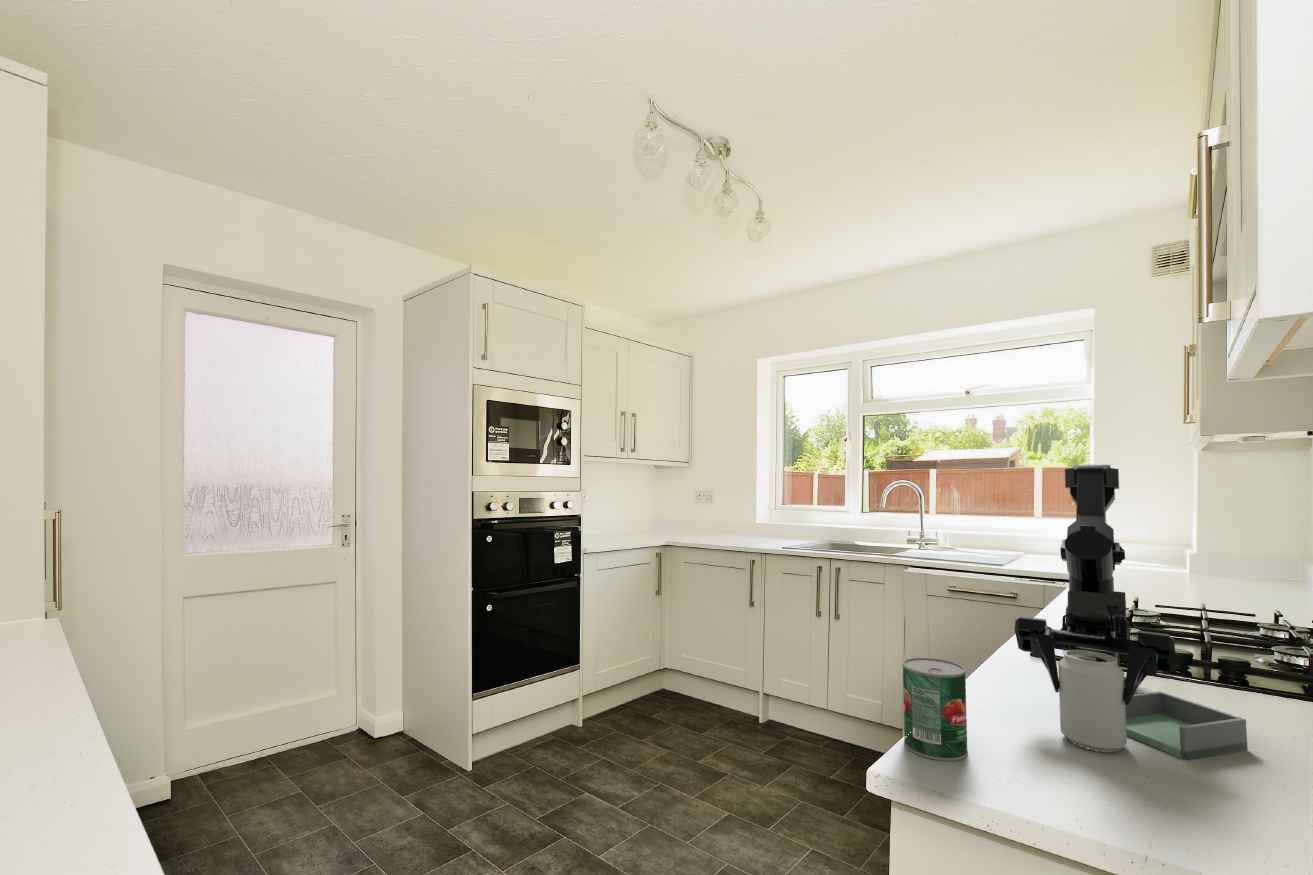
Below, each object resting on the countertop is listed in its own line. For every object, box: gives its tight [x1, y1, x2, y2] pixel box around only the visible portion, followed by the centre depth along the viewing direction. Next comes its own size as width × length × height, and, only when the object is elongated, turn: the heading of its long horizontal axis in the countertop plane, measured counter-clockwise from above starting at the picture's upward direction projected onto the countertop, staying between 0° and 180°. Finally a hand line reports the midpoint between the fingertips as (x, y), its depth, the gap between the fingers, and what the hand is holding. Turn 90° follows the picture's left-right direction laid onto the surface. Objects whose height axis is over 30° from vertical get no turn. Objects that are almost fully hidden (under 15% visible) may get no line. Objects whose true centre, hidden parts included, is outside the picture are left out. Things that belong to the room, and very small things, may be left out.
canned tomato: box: [901, 657, 969, 762], centre depth 85 cm, size 8×8×11 cm
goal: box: [1125, 691, 1248, 761], centre depth 88 cm, size 11×11×4 cm
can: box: [1057, 649, 1128, 753], centre depth 86 cm, size 8×8×12 cm
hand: (1090, 696), depth 85 cm, fingers closed on can, 7 cm apart
